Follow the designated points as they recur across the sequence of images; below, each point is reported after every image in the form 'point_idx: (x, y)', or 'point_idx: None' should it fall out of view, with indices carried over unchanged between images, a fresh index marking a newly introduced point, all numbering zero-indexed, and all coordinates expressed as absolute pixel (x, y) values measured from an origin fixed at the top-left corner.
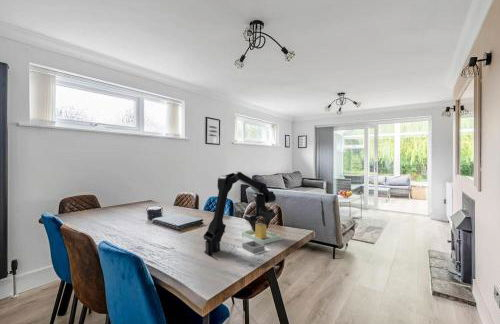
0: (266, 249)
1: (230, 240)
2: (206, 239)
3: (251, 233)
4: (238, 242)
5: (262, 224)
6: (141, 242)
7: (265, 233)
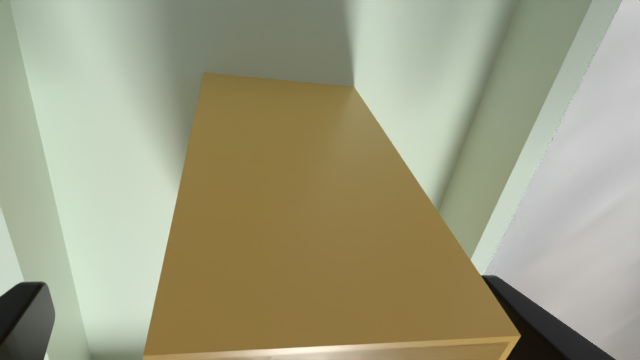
0: None
1: (565, 322)
2: None
3: None
4: (590, 236)
5: None
6: None
7: (231, 128)
